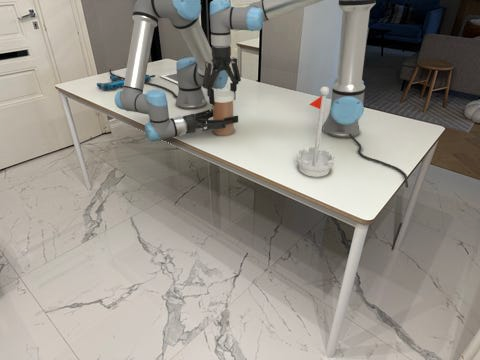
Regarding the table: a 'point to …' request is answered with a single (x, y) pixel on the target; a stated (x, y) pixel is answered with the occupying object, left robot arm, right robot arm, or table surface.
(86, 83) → the table surface
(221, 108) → the jar
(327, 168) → the flag stand
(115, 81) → the submachine gun
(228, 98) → the lid
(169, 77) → the tablet
